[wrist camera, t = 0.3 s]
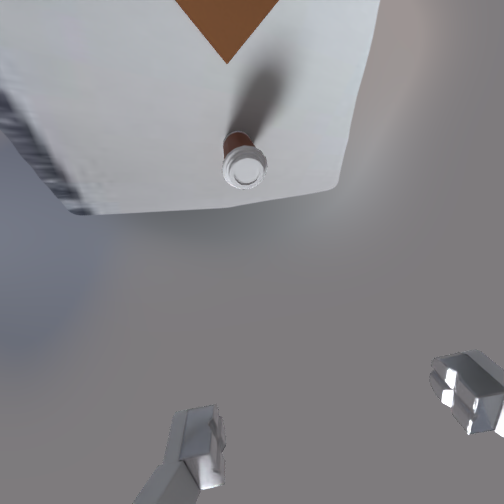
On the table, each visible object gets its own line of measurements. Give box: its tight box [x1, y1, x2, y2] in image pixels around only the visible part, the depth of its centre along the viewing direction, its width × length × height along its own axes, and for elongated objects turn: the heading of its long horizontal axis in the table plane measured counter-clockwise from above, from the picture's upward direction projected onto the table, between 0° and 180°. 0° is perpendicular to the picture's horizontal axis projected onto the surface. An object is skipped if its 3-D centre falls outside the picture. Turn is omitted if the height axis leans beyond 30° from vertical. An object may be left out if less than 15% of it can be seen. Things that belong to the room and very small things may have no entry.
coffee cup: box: [222, 131, 268, 189], centre depth 51 cm, size 9×9×12 cm
